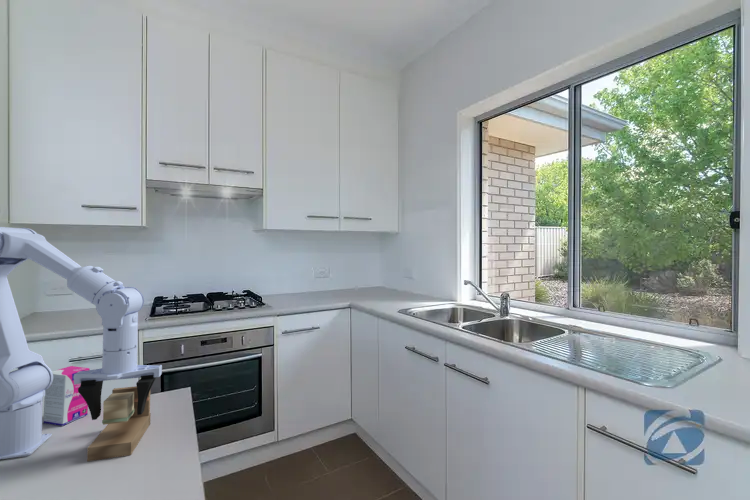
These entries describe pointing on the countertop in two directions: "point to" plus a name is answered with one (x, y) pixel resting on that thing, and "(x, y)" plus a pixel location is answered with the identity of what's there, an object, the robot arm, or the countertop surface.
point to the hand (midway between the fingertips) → (118, 415)
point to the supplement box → (64, 398)
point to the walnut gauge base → (121, 432)
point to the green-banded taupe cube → (118, 408)
